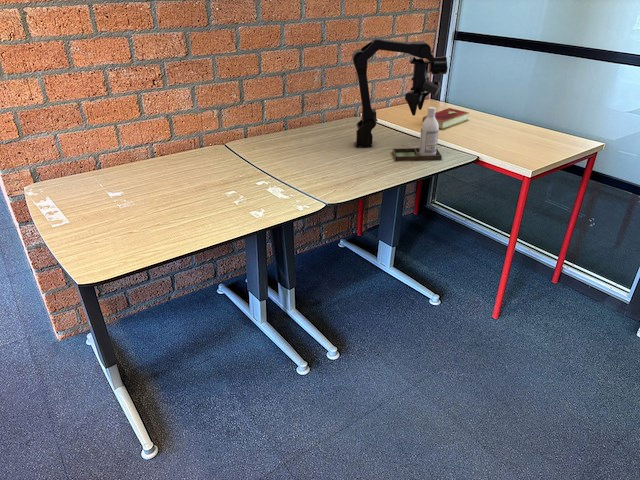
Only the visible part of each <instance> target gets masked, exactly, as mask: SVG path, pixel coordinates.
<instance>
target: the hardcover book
mask: <svg viewBox="0 0 640 480" xmlns="http://www.w3.org/2000/svg"><path fill="white" fill-rule="evenodd" d="M469 114H470V112H468V111H465V110H460V109H456V108H452V107H448V108H445V109H442V110H439V111H435V118H436V120H437V122H438V125H439V130H440V131H441V130H442V131H443V130H446V129H449V128H451V127H454V126H457V125H460V124H463V123H466V122H468V121H469V119H468V117H469ZM426 118H427V115H425V116H424V115H423V117H422V123H423V122H424V120H425V119H426Z"/></svg>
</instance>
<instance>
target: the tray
mask: <svg viewBox="0 0 640 480" xmlns="http://www.w3.org/2000/svg"><path fill="white" fill-rule="evenodd" d="M392 155H393V157H394V160H395V162H406V161H407V162H408V161H409V162H411V161H412V162H413V161H415V162H416V161H441V160H442V157H443V156H442V154H441V152H440V151H439V149H438V148H437V150H436V155H434V156H419V147H407V148H406V147H402V148H392Z"/></svg>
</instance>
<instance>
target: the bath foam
mask: <svg viewBox="0 0 640 480" xmlns="http://www.w3.org/2000/svg"><path fill="white" fill-rule="evenodd" d="M435 113H436V107H435V106H428V108H427V115H426V116H427V118H426V119H425V120H424V122H423V121H422V123H421V127H420V135H419V136H420V137H419V146H418V148H419V152H418V154H419V156H434V155H437V154H436V150H437V149H438V140H439V132H440V131H439V130H440V129H439V125H438V122H437V120H436V118H435Z"/></svg>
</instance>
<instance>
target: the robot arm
mask: <svg viewBox="0 0 640 480" xmlns="http://www.w3.org/2000/svg"><path fill="white" fill-rule="evenodd" d="M378 51H387V52H393V53H403V54H408V55H411V56H412V58H411V59H410V60H409V61H408V62H409V63H410V64H411V65H413V72H412V73H413V74H412V77H411V81H412V83H411V84H412V85H411V87H410V90H409V91H408V92H407V93H406V94H405V95H404V100H405V102H406V103H407V105H408V108H409V110H410V113H411V115H412V116H416V113H417V109H418V111H422V109H423V106H424V103H425V100H426V98H427V97H428V96H429V95H430V94H431V96H434V97H435V96H437V95H438V94H439V91H440V89H441V86H442V85H441V81H440V80H438V79H436V80H435V81H434V82H433V81H431V80H430V77H429V76H428V74H429V73H430V74H431V75H447V73H448V70H449V69H448V67H449V66H448V57H447V56H444V55H443V56H434V55H433V54H432V47H431V45H429V43H427V42H426V41H424V40H414V41H407V42H406V41H400V40H399V41H398V40H392V39H391V40H390V39H383V38H378V37H374V38H373V39H372V40H371V41H369V42H368V43H367V44H365V45H364V46H362V47H361V48H358V49H355V50H354V51H353V53H352V54H351V60H352V62H353V66H354V68H355V71H356V74H357V80H358V87H359V94H360V101H361V117H360V120H358V122H356V128H357V129H356V132H355V134H356V135H355V146H356V148H371V147H372V146H373V137H374V136H373V133H372V131H373V130H374V128H375V127H376V126H377V122H378V118H377V111H376V108H375V107H373V108H372V103H371V95H370V89H369V81H368V75H367V73H368V60H370V59H371V58H372V57H373V56H374V55H375V54H376V53H377V52H378ZM424 59H426V60H424Z"/></svg>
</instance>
